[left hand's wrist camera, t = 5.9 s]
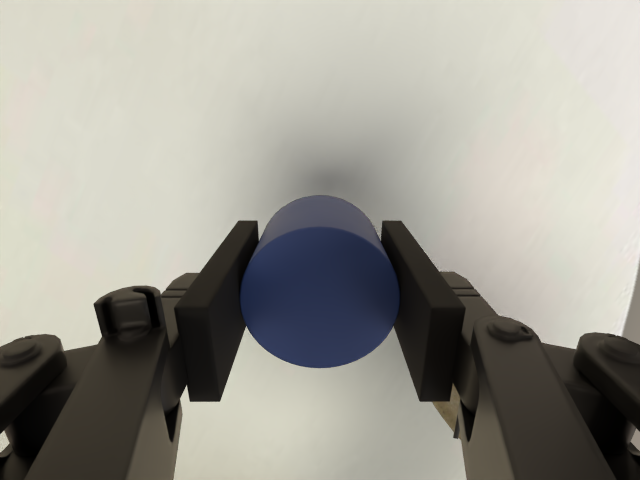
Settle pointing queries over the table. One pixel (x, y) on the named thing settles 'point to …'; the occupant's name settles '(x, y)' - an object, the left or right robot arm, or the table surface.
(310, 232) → the can
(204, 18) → the table surface
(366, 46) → the table surface
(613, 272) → the table surface
